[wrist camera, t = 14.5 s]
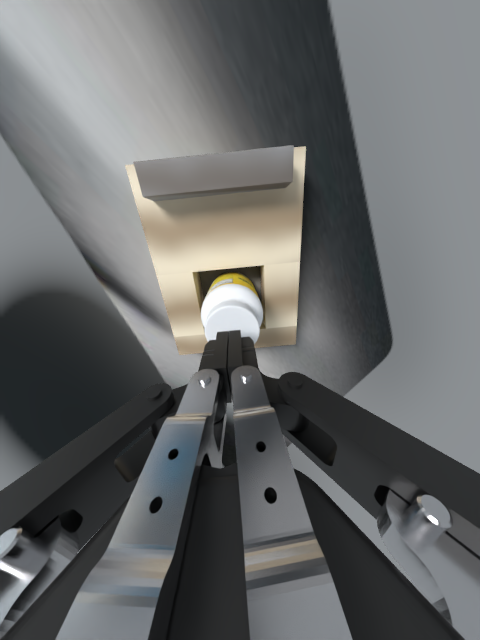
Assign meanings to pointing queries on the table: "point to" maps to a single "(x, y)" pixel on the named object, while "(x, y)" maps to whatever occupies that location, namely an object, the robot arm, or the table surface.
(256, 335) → the supplement bottle
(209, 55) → the table surface
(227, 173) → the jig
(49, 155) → the table surface
